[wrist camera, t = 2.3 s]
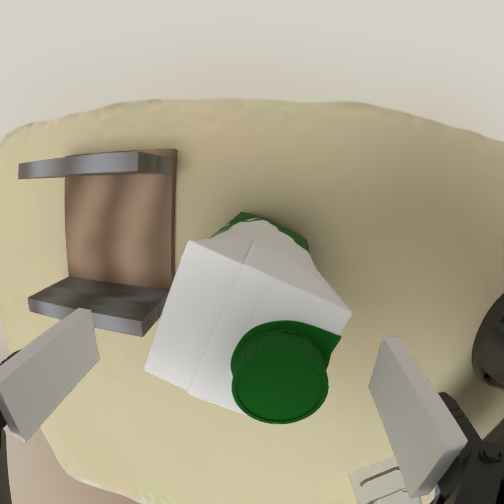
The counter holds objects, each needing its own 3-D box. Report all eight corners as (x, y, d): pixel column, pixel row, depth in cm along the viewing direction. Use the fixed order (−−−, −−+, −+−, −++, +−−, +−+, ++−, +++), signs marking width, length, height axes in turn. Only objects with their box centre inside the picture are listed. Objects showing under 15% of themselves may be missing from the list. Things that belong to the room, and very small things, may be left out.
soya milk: (282, 311, 32) (282, 462, 12) (203, 276, 32) (112, 394, 12) (319, 236, 30) (386, 324, 10) (235, 198, 30) (159, 224, 10)
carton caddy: (177, 150, 29) (139, 138, 20) (175, 307, 33) (143, 347, 24) (70, 156, 30) (19, 153, 21) (75, 293, 34) (31, 319, 25)
